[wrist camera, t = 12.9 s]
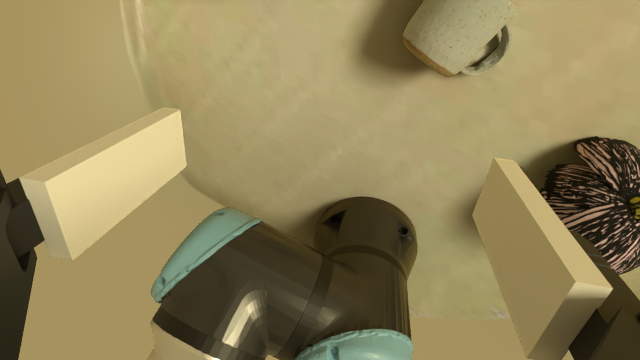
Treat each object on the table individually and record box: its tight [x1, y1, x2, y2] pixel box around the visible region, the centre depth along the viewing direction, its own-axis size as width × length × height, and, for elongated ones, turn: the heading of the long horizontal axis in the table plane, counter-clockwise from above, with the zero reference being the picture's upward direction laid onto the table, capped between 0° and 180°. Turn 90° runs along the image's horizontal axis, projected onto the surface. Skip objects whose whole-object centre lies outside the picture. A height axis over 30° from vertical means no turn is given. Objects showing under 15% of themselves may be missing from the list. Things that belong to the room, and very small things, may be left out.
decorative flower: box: [539, 136, 640, 275], centre depth 38 cm, size 14×12×15 cm
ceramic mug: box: [402, 0, 516, 77], centre depth 33 cm, size 11×8×8 cm
